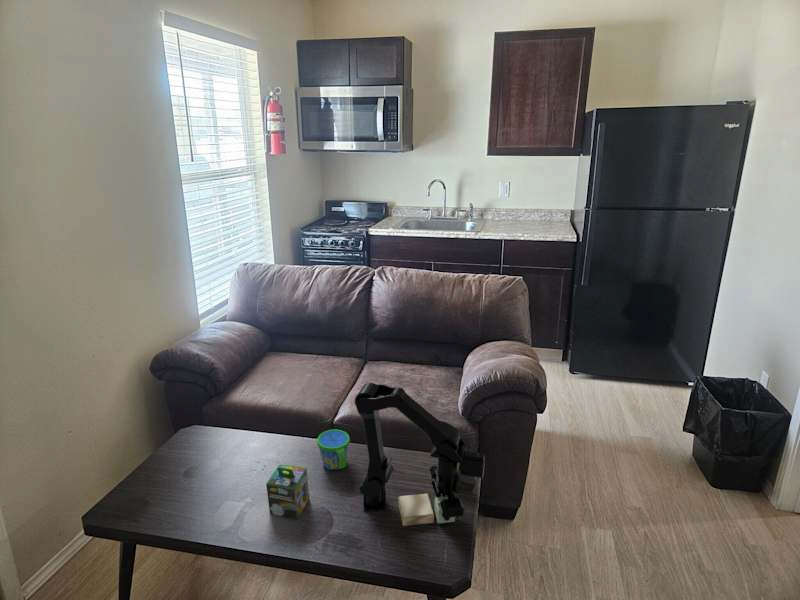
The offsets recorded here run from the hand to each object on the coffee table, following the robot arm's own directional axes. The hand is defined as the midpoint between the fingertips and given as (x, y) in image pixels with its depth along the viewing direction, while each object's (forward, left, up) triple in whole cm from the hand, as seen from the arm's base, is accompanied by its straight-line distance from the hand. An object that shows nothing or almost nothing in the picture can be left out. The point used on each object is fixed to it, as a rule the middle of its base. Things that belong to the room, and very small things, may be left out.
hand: (444, 513), depth 150 cm
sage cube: (0, 0, -1) cm, 1 cm away
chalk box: (-45, +11, -2) cm, 46 cm away
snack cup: (-31, +29, -2) cm, 42 cm away
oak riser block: (-8, +3, -2) cm, 9 cm away
